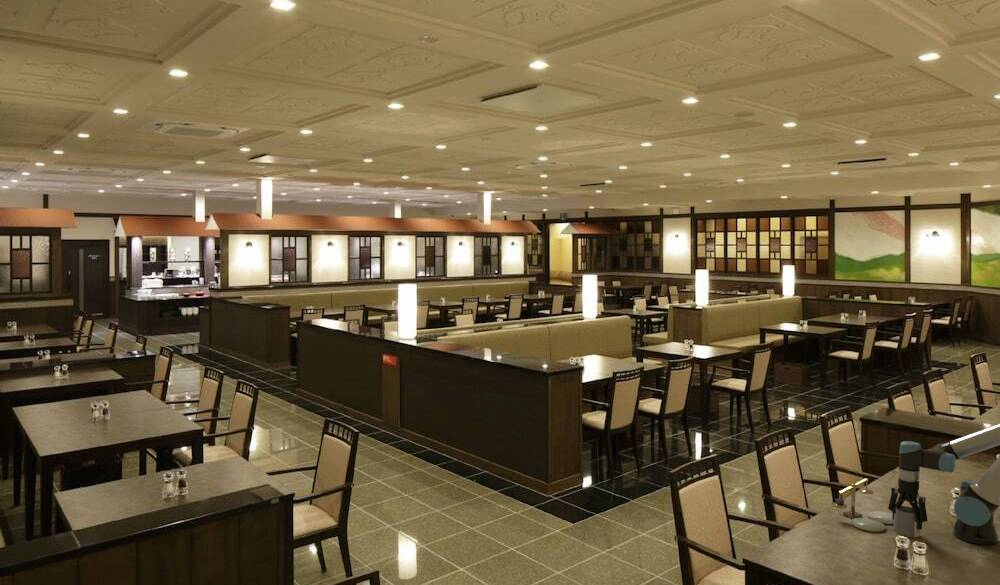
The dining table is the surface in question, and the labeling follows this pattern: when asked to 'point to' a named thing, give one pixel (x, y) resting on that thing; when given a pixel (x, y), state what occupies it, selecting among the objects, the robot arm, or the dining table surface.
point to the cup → (905, 521)
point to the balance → (840, 502)
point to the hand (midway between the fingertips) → (906, 532)
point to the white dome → (881, 517)
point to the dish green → (868, 524)
